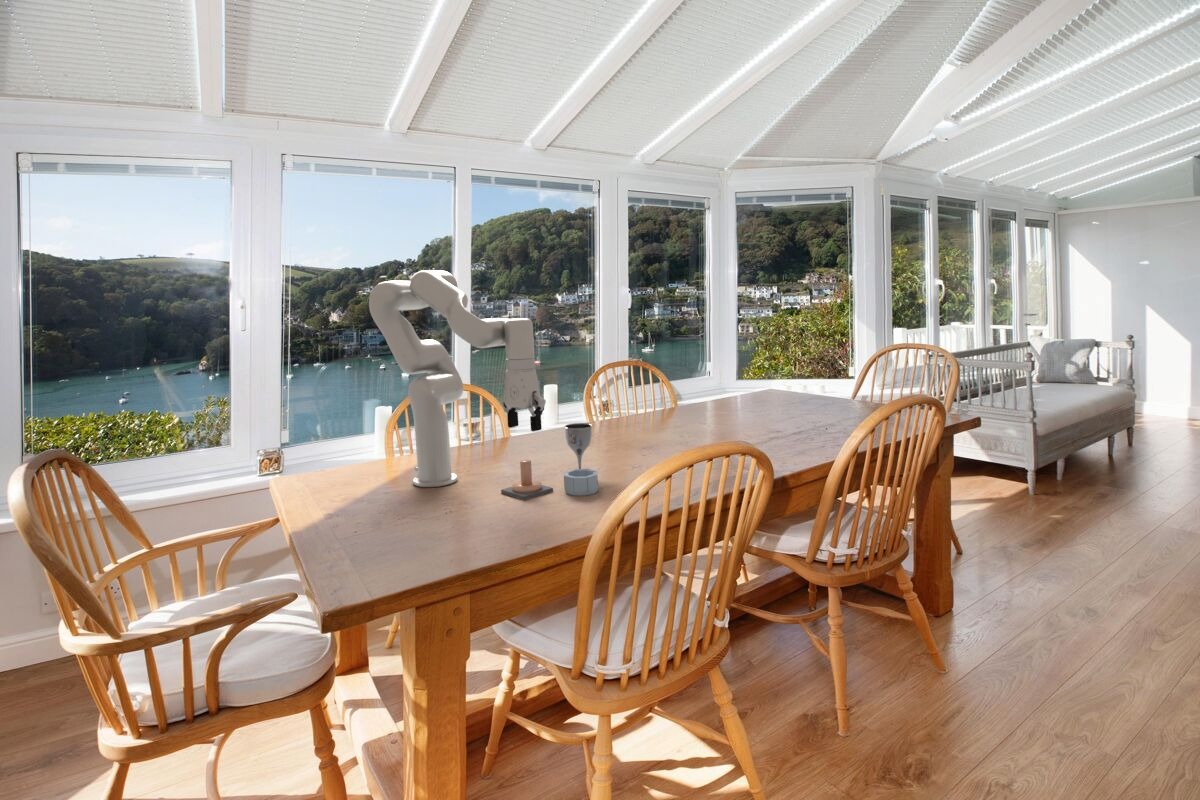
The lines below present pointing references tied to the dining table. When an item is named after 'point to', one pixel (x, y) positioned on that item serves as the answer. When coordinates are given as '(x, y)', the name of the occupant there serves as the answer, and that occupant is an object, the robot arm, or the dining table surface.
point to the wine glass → (578, 438)
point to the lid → (526, 479)
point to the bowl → (581, 482)
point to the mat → (526, 495)
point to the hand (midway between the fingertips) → (524, 428)
